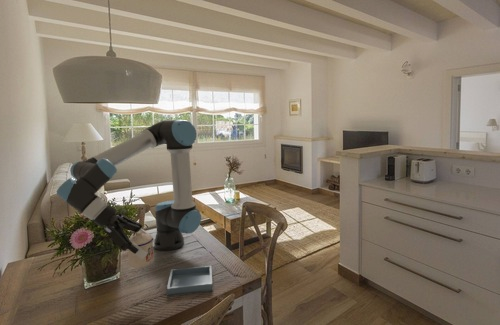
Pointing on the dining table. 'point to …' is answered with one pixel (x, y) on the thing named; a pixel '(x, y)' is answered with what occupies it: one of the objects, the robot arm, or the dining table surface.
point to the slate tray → (190, 280)
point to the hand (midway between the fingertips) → (148, 248)
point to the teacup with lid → (145, 244)
